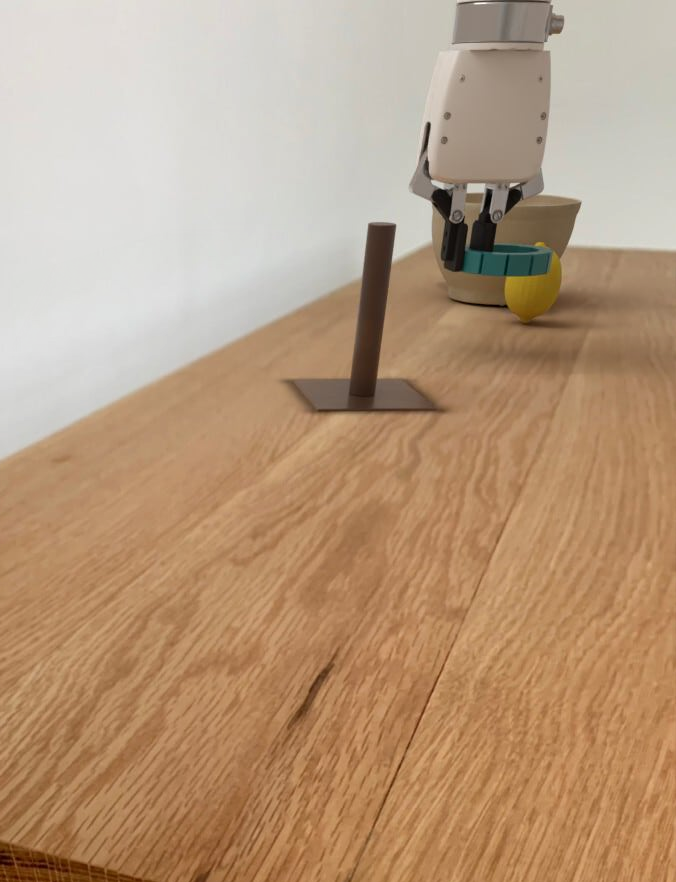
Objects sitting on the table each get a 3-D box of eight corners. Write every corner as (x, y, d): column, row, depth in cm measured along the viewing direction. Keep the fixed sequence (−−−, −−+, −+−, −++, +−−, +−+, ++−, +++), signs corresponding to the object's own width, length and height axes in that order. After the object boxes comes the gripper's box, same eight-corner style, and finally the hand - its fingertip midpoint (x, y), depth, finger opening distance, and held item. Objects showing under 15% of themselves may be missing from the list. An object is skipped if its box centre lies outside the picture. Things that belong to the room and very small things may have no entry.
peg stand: (399, 397, 91) (424, 216, 84) (433, 428, 83) (464, 231, 76) (291, 398, 90) (307, 216, 83) (315, 429, 82) (335, 231, 75)
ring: (527, 263, 105) (531, 242, 104) (563, 276, 98) (567, 254, 97) (441, 264, 105) (443, 243, 104) (471, 277, 98) (474, 254, 97)
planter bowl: (537, 289, 137) (556, 191, 131) (579, 314, 123) (602, 206, 117) (406, 287, 137) (420, 189, 132) (434, 311, 123) (450, 203, 118)
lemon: (552, 330, 115) (569, 246, 111) (497, 326, 117) (512, 243, 112) (552, 320, 120) (568, 240, 115) (499, 317, 121) (513, 237, 117)
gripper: (571, 33, 96) (531, 263, 105) (393, 32, 95) (369, 265, 104) (610, 29, 89) (564, 275, 98) (420, 28, 88) (391, 276, 97)
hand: (464, 268), depth 101 cm, fingers closed on ring, 1 cm apart
